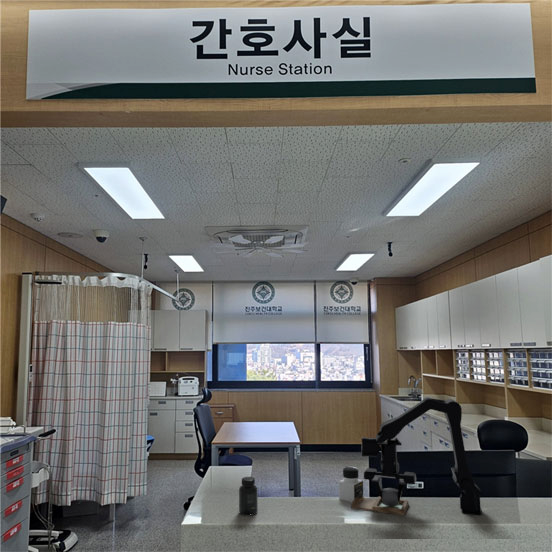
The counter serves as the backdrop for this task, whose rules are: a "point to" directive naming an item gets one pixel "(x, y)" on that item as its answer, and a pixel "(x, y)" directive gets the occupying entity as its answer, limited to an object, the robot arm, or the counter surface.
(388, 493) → the cap
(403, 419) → the robot arm
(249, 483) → the supplement bottle
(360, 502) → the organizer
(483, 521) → the counter surface
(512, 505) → the counter surface
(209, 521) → the counter surface
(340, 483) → the medicine bottle
